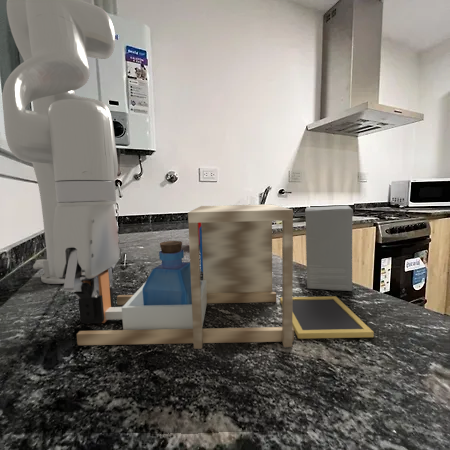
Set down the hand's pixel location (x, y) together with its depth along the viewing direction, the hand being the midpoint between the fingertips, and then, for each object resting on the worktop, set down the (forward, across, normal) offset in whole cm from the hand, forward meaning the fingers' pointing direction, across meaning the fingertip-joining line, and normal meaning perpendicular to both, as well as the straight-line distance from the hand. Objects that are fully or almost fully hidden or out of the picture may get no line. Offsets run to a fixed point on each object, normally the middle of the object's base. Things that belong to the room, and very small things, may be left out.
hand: (98, 316), depth 39 cm
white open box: (0, 0, +7) cm, 7 cm away
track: (+1, 0, +14) cm, 14 cm away
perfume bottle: (+1, +1, +12) cm, 12 cm away
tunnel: (+1, 0, +22) cm, 22 cm away
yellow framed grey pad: (+1, 0, +34) cm, 34 cm away
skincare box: (+1, -13, +40) cm, 42 cm away
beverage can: (+1, -23, +16) cm, 28 cm away
